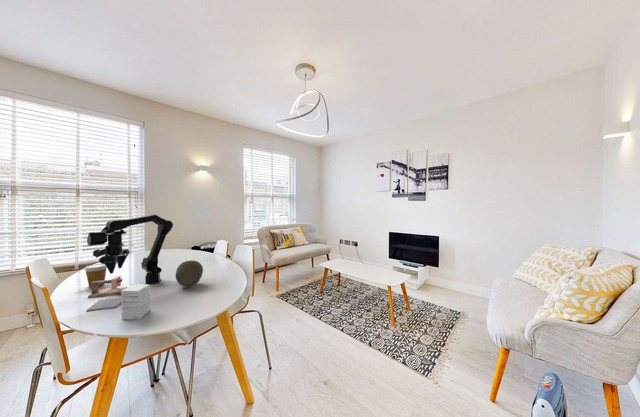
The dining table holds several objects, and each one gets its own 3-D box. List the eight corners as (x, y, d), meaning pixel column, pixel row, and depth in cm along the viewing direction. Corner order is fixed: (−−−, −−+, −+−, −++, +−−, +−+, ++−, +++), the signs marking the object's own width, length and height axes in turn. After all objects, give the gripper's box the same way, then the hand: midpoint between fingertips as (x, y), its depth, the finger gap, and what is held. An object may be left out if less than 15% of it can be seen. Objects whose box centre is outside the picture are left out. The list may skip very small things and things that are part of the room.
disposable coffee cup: (111, 283, 133) (111, 264, 133) (91, 289, 124) (90, 268, 124) (101, 281, 136) (101, 262, 136) (81, 287, 127) (80, 267, 127)
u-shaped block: (120, 285, 125) (120, 275, 125) (116, 289, 120) (115, 278, 119) (116, 285, 124) (116, 276, 124) (111, 289, 119) (111, 279, 119)
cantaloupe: (204, 287, 130) (204, 262, 130) (176, 292, 123) (175, 265, 122) (201, 279, 142) (201, 256, 142) (175, 284, 134) (175, 260, 134)
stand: (88, 297, 115) (87, 284, 114) (96, 291, 122) (96, 279, 122) (120, 294, 120) (120, 281, 119) (127, 288, 127) (127, 276, 127)
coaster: (126, 297, 115) (126, 296, 115) (116, 307, 105) (116, 306, 105) (99, 301, 111) (99, 299, 111) (86, 311, 101) (86, 310, 101)
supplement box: (133, 311, 102) (133, 284, 101) (150, 310, 103) (150, 284, 102) (120, 319, 95) (120, 290, 94) (139, 319, 95) (138, 290, 95)
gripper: (105, 240, 127) (106, 267, 127) (84, 247, 109) (86, 278, 110) (129, 239, 131) (130, 265, 131) (113, 245, 113) (114, 275, 114)
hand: (115, 270), depth 122 cm, fingers open, 9 cm apart
